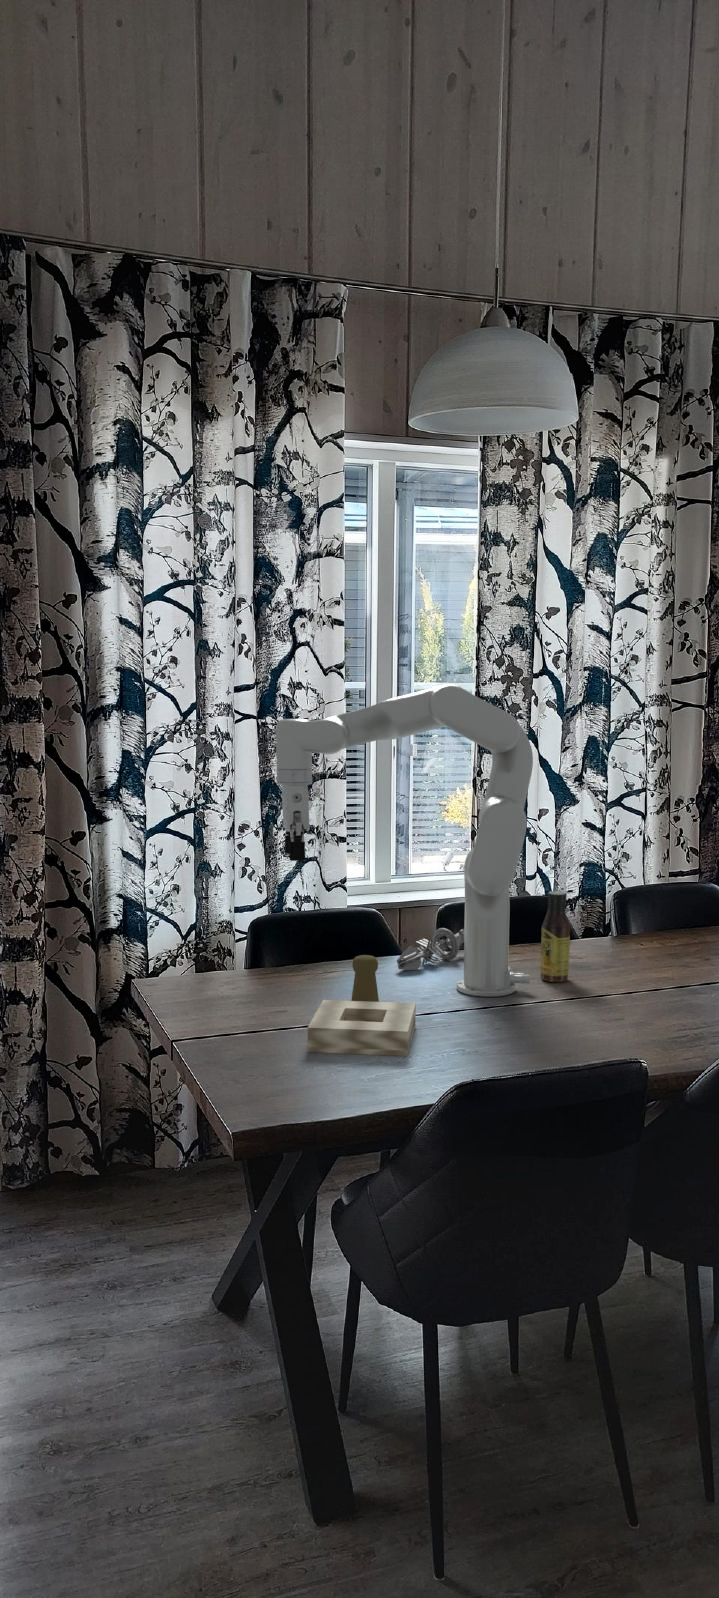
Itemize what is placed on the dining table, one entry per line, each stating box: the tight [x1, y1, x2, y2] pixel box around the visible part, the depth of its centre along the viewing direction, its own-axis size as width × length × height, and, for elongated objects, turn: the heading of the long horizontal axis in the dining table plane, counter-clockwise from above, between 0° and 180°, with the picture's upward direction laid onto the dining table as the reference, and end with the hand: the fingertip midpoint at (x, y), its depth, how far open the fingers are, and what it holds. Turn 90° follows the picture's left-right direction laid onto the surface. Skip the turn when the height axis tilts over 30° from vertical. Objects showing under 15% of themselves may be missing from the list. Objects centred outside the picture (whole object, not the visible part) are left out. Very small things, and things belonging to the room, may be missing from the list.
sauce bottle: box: [539, 890, 571, 983], centre depth 257 cm, size 6×6×20 cm
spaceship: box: [396, 927, 464, 971], centre depth 276 cm, size 8×35×8 cm
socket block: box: [307, 999, 417, 1057], centre depth 216 cm, size 18×18×4 cm
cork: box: [350, 954, 380, 1002], centre depth 235 cm, size 6×6×11 cm
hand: (294, 856), depth 249 cm, fingers open, 9 cm apart
